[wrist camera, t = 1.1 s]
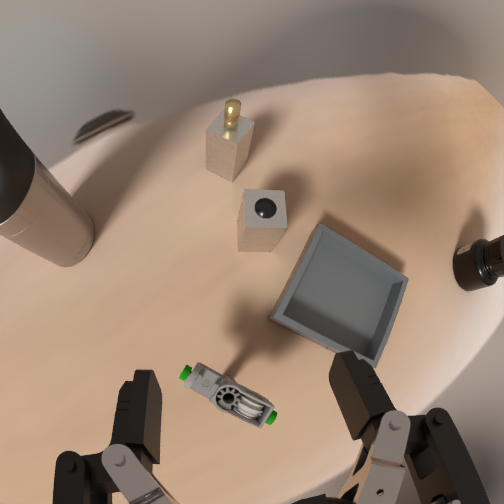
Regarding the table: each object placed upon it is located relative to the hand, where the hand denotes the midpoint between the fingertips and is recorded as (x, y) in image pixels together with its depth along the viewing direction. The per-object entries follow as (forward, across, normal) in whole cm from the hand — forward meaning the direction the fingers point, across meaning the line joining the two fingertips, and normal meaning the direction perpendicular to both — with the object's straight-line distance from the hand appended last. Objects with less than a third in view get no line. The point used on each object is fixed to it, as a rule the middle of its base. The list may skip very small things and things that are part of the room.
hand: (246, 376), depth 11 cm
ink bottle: (+23, -46, +13) cm, 53 cm away
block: (+28, -5, +6) cm, 29 cm away
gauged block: (+36, -2, -2) cm, 36 cm away
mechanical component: (+15, +1, +20) cm, 25 cm away
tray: (+21, -16, +14) cm, 30 cm away
